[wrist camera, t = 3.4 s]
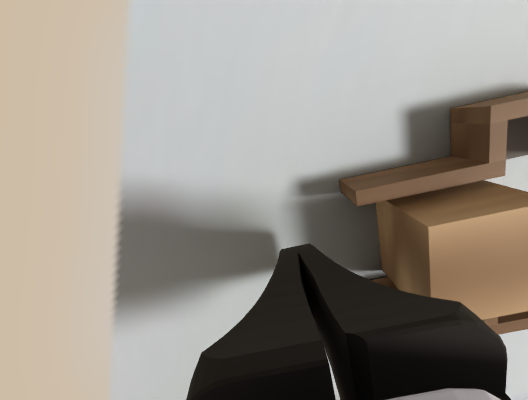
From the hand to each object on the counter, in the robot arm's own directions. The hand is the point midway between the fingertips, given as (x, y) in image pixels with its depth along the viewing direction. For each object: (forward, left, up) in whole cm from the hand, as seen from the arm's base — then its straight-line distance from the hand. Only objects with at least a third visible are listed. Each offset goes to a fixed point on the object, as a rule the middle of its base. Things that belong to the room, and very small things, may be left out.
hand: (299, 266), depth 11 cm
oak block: (0, -6, -2) cm, 6 cm away
